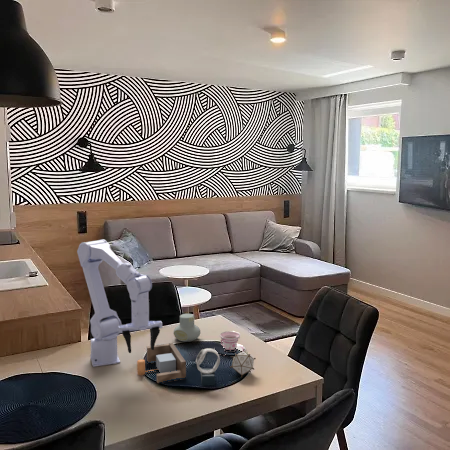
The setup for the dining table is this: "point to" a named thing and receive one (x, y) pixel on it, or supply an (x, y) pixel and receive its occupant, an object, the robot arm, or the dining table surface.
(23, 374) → the dining table surface
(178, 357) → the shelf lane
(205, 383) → the watch
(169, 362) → the pull block
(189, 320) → the air freshener
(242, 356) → the game die
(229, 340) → the teacup
